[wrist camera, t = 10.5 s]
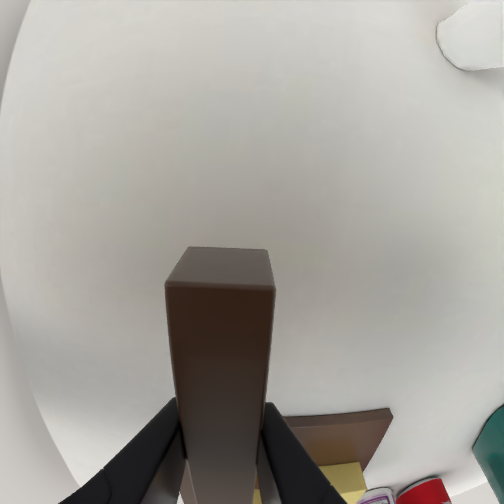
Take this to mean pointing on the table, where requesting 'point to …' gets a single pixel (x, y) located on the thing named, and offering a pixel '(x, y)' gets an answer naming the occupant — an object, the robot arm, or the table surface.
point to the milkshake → (474, 35)
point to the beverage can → (425, 493)
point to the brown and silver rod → (221, 365)
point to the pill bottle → (377, 497)
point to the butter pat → (346, 480)
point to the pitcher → (492, 452)
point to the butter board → (328, 440)
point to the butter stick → (257, 497)
